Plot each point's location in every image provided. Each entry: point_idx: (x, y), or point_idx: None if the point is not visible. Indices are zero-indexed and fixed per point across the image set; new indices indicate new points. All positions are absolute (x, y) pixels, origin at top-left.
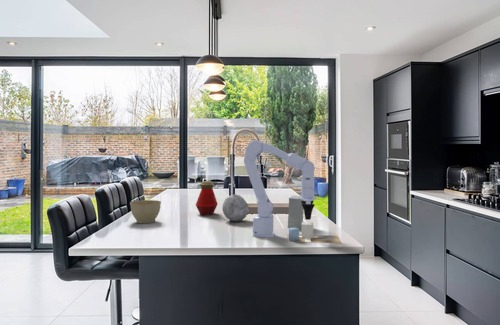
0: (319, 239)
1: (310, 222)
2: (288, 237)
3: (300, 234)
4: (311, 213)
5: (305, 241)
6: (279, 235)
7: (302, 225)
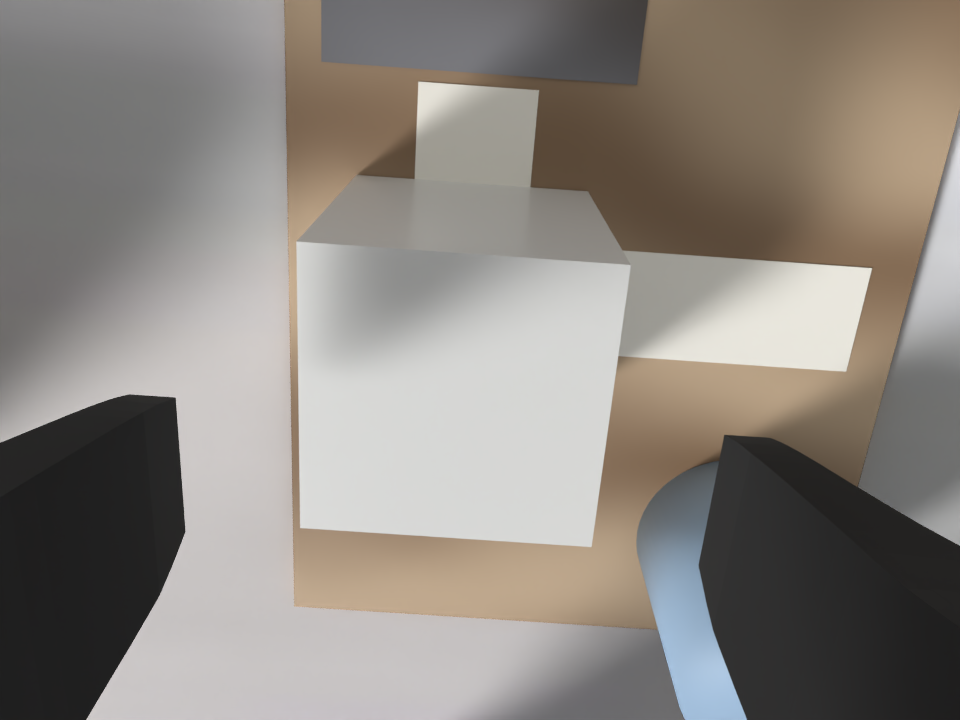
0: (688, 70)
1: (300, 307)
2: (539, 603)
3: (294, 401)
4: (927, 532)
5: (833, 364)
6: (364, 705)
7: (587, 520)
